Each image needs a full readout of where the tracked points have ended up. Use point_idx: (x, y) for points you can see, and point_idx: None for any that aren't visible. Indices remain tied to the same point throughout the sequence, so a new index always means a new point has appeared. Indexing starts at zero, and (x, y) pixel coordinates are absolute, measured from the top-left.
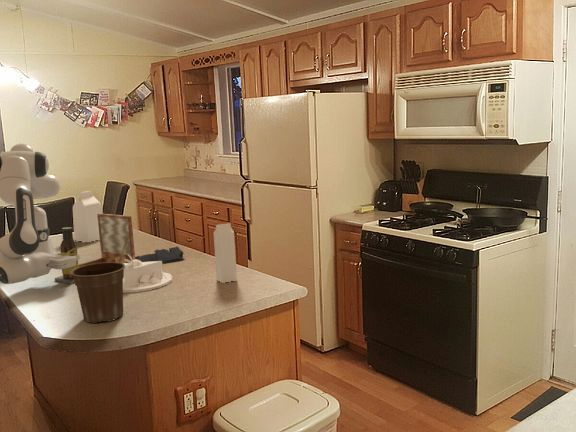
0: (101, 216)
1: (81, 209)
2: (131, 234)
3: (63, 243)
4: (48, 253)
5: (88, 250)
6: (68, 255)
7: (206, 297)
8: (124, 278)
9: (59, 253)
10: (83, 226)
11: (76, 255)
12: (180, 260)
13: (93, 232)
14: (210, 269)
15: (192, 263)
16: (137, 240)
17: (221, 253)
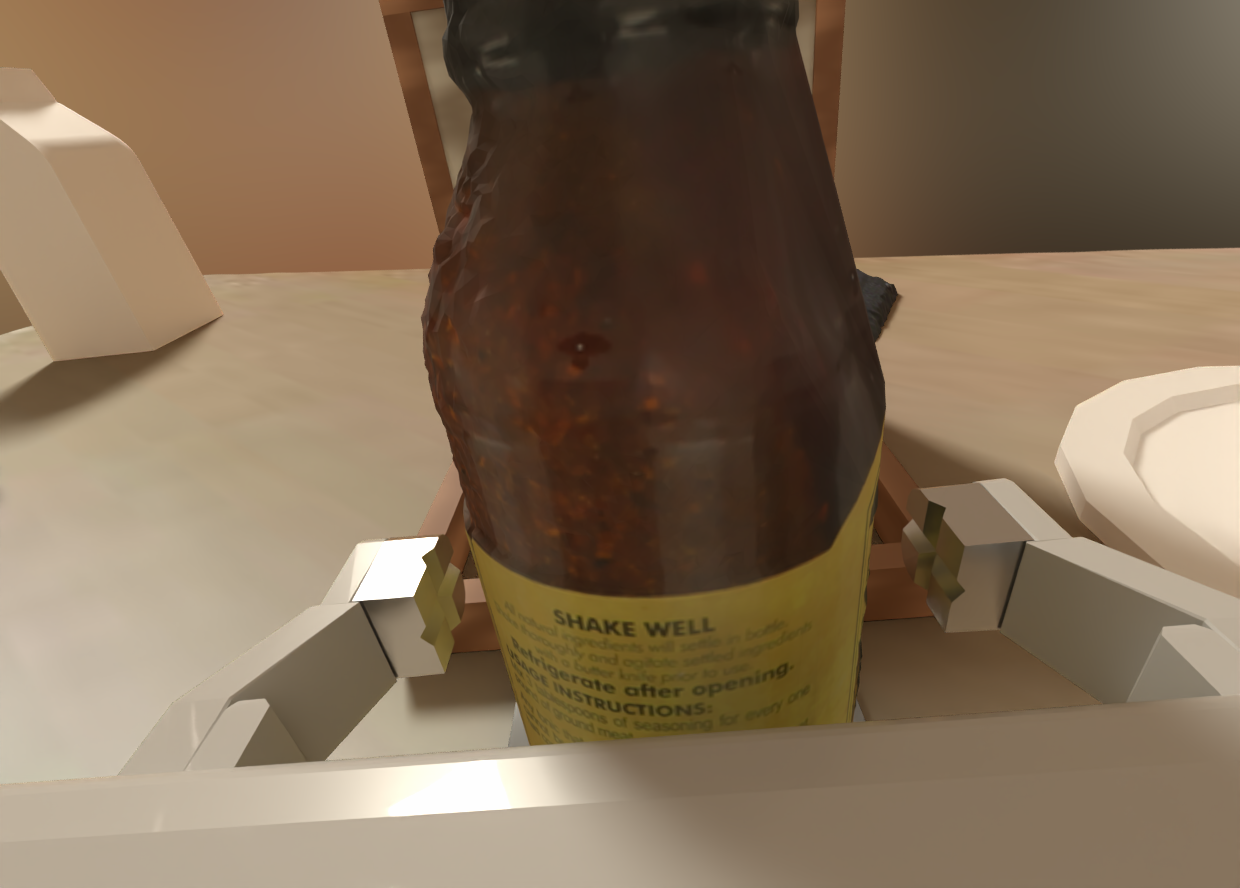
0: (440, 2)
1: (22, 173)
2: (834, 126)
3: (668, 245)
4: (46, 883)
5: (218, 382)
6: (856, 593)
7: None
8: (1204, 533)
9: (369, 584)
10: (82, 271)
11: (1020, 509)
12: (895, 295)
13: (155, 295)
14: (1230, 286)
15: (1002, 291)
16: (393, 290)
17: None
